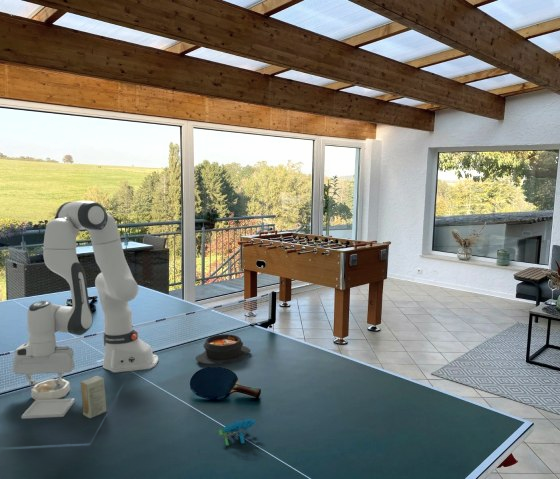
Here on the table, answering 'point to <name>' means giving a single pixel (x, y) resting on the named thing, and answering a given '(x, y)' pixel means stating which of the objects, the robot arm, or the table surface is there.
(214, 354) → the casserole
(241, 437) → the blue plastic piece
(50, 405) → the parts tray
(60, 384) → the pebble slate
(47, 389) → the pebble sand
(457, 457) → the table surface
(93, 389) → the skincare box
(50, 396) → the bowl
